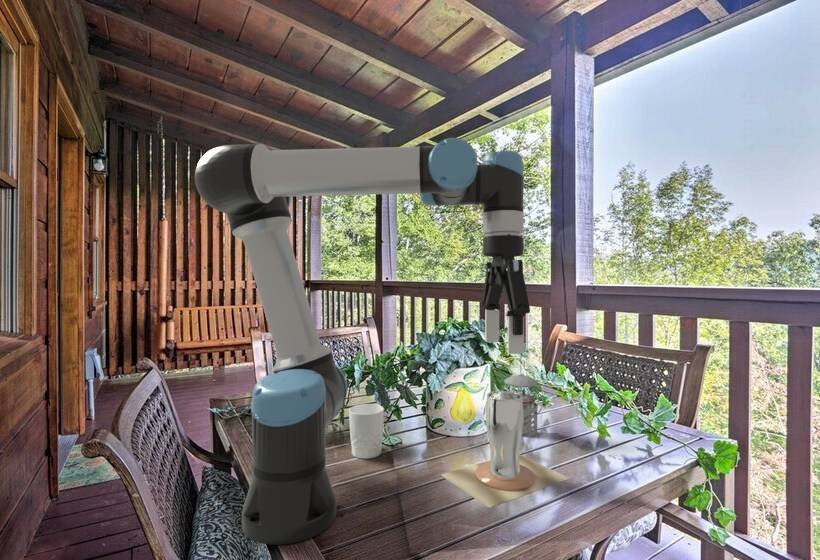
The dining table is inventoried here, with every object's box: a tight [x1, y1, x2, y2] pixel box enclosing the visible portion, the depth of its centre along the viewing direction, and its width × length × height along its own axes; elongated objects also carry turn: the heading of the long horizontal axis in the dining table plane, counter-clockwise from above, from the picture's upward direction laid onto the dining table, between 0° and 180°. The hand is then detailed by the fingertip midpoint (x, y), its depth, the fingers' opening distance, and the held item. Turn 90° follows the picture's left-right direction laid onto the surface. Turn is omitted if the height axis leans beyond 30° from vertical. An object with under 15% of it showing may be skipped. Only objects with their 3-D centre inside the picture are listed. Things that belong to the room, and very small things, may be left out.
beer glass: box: [485, 390, 523, 481], centre depth 83 cm, size 7×7×15 cm
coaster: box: [476, 462, 534, 491], centre depth 83 cm, size 11×11×1 cm
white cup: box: [348, 403, 385, 460], centre depth 98 cm, size 8×8×10 cm
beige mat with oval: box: [440, 453, 571, 509], centre depth 83 cm, size 20×14×2 cm
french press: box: [504, 338, 545, 438], centre depth 108 cm, size 10×12×25 cm
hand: (503, 347), depth 83 cm, fingers open, 13 cm apart
